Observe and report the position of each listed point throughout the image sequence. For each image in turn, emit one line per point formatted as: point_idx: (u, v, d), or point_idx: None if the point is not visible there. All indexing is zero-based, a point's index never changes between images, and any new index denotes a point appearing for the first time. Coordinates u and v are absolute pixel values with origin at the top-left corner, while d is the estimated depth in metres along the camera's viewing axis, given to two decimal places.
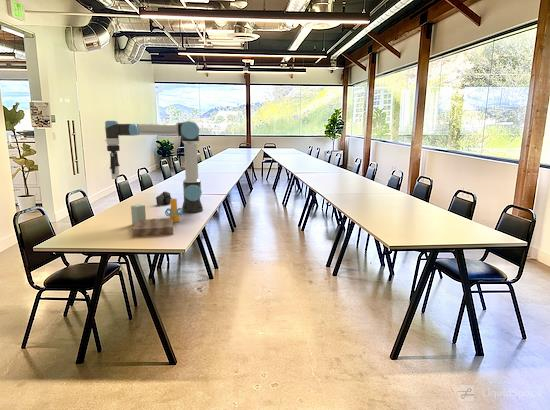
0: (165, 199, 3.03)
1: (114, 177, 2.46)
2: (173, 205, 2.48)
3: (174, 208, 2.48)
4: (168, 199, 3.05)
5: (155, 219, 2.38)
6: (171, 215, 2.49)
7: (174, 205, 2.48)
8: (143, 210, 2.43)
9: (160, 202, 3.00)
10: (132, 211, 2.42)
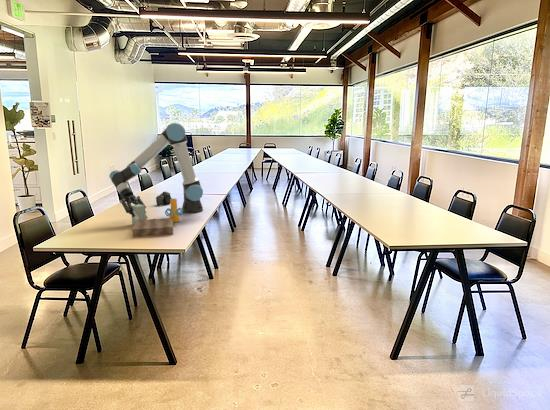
0: (165, 199, 3.03)
1: (136, 219, 2.40)
2: (173, 205, 2.48)
3: (174, 208, 2.48)
4: (168, 199, 3.05)
5: (155, 219, 2.38)
6: (171, 215, 2.49)
7: (174, 205, 2.48)
8: (143, 210, 2.43)
9: (160, 202, 3.01)
10: None
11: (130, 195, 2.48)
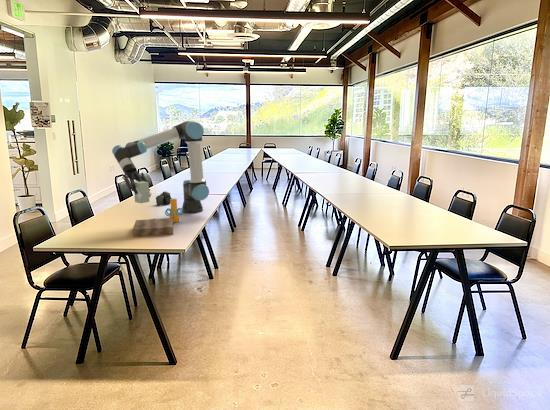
0: (165, 199, 3.03)
1: (139, 196, 2.27)
2: (173, 205, 2.48)
3: (174, 208, 2.48)
4: (168, 199, 3.05)
5: (155, 219, 2.38)
6: (171, 215, 2.49)
7: (174, 205, 2.48)
8: (146, 187, 2.30)
9: (160, 202, 3.01)
10: None
11: (133, 171, 2.34)
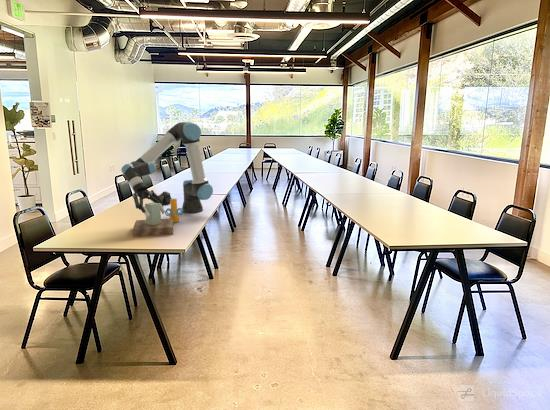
0: (165, 199, 3.04)
1: (147, 214, 2.22)
2: (173, 205, 2.48)
3: (174, 208, 2.48)
4: (168, 199, 3.05)
5: None
6: (171, 215, 2.49)
7: (174, 205, 2.48)
8: (158, 209, 2.27)
9: None
10: None
11: (144, 191, 2.31)
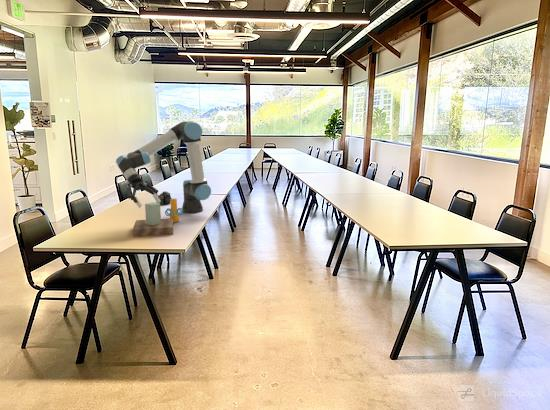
0: (165, 199, 3.04)
1: (139, 205, 2.23)
2: (173, 205, 2.48)
3: (174, 208, 2.48)
4: (168, 199, 3.05)
5: None
6: (171, 215, 2.49)
7: (174, 205, 2.48)
8: (158, 209, 2.27)
9: None
10: (146, 210, 2.26)
11: (139, 183, 2.32)
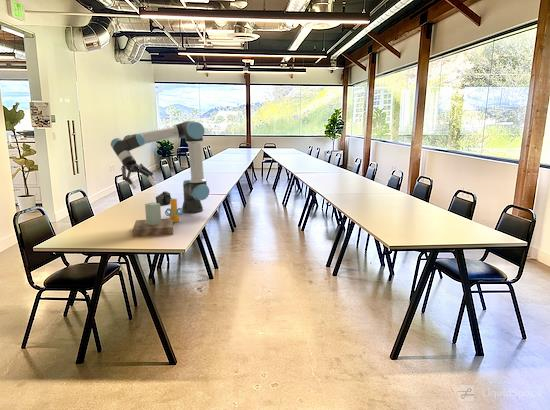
0: (165, 199, 3.04)
1: (133, 186, 2.23)
2: (173, 205, 2.48)
3: (174, 208, 2.48)
4: (168, 199, 3.05)
5: None
6: (171, 215, 2.49)
7: (174, 205, 2.48)
8: (158, 209, 2.27)
9: (159, 202, 3.01)
10: (146, 210, 2.26)
11: (133, 165, 2.32)
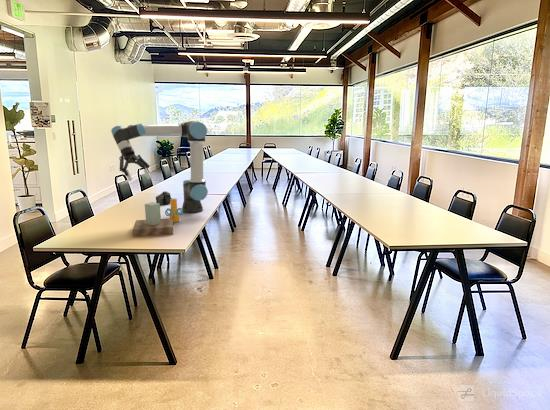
0: (165, 199, 3.04)
1: (129, 178, 2.28)
2: (173, 205, 2.48)
3: (174, 208, 2.48)
4: (168, 199, 3.05)
5: None
6: (171, 215, 2.49)
7: (174, 205, 2.48)
8: (158, 209, 2.27)
9: (159, 202, 3.01)
10: (146, 210, 2.26)
11: (131, 156, 2.36)
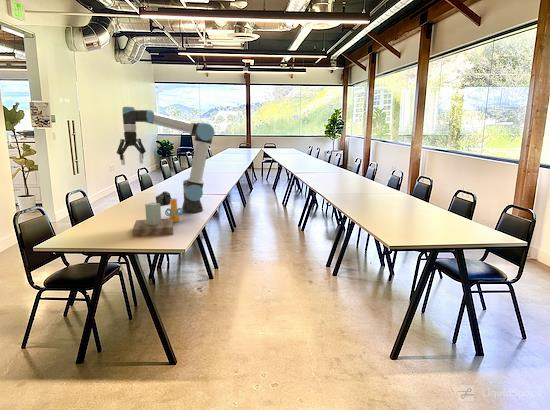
0: (165, 199, 3.04)
1: (122, 163, 2.46)
2: (173, 205, 2.48)
3: (174, 208, 2.48)
4: (168, 199, 3.06)
5: None
6: (171, 215, 2.49)
7: (174, 205, 2.48)
8: (158, 209, 2.27)
9: (159, 202, 3.01)
10: (147, 210, 2.25)
11: (132, 140, 2.49)
